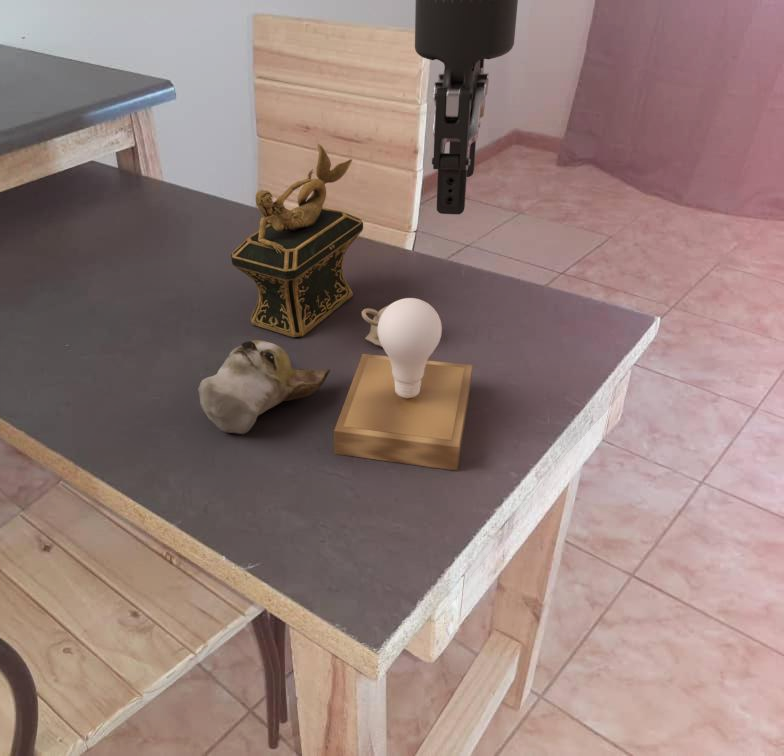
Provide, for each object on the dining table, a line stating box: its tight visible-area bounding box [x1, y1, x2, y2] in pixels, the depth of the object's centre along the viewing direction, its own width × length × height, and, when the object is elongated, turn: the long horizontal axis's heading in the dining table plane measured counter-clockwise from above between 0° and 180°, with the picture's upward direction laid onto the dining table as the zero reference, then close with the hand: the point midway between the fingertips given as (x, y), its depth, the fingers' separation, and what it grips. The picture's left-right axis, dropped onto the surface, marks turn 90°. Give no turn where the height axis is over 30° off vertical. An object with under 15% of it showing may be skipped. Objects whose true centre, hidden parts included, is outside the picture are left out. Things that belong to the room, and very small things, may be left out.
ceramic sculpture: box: [197, 339, 331, 435], centre depth 82 cm, size 11×9×15 cm
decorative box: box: [230, 143, 364, 338], centre depth 97 cm, size 20×10×20 cm, turn 144°
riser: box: [333, 353, 473, 471], centre depth 80 cm, size 12×14×3 cm
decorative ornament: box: [361, 304, 390, 348], centre depth 92 cm, size 4×8×5 cm, turn 108°
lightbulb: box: [377, 297, 443, 398], centre depth 76 cm, size 6×6×11 cm
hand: (455, 193), depth 67 cm, fingers open, 8 cm apart
